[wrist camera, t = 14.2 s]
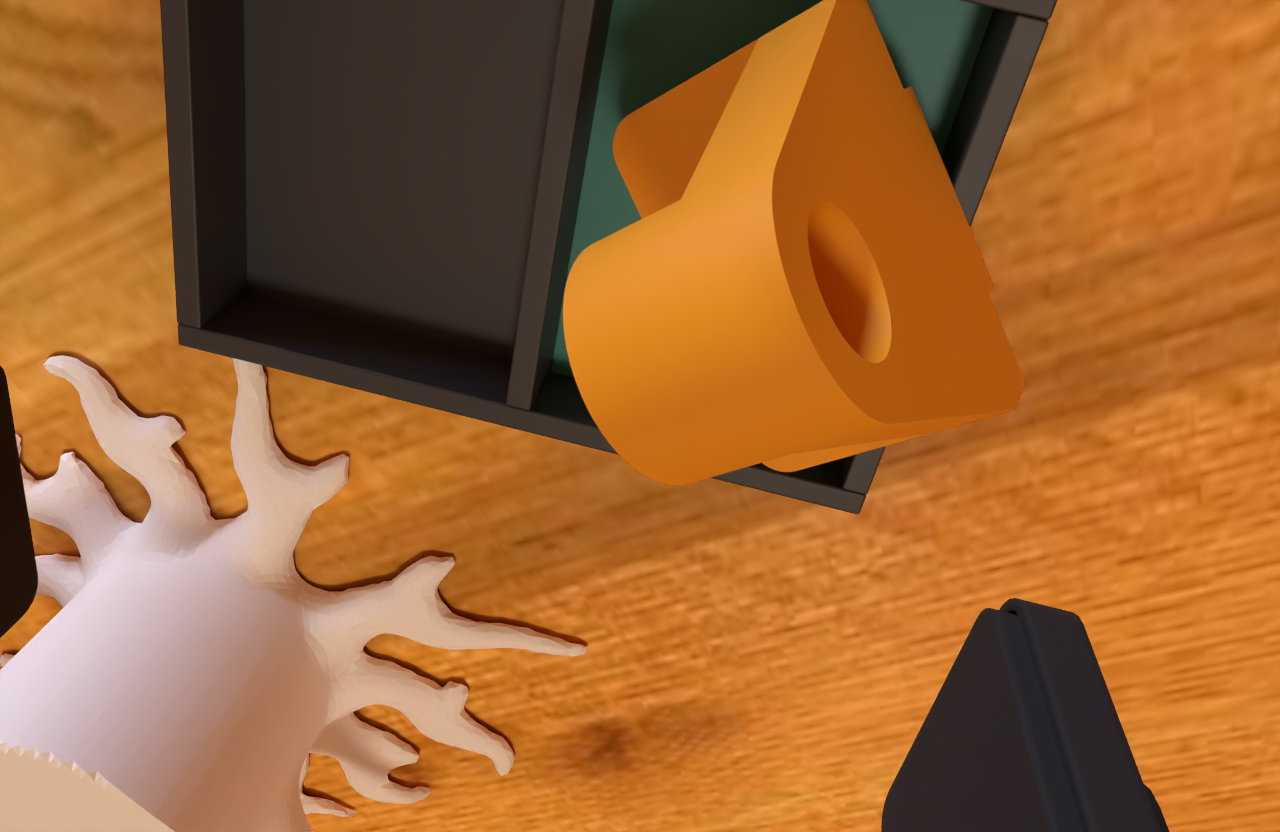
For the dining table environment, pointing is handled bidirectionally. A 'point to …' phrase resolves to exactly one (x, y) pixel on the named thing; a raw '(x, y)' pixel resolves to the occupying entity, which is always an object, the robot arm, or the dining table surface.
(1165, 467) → the dining table surface
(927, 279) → the bracket
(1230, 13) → the dining table surface
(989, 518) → the dining table surface
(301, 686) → the tree stump
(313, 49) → the tray
